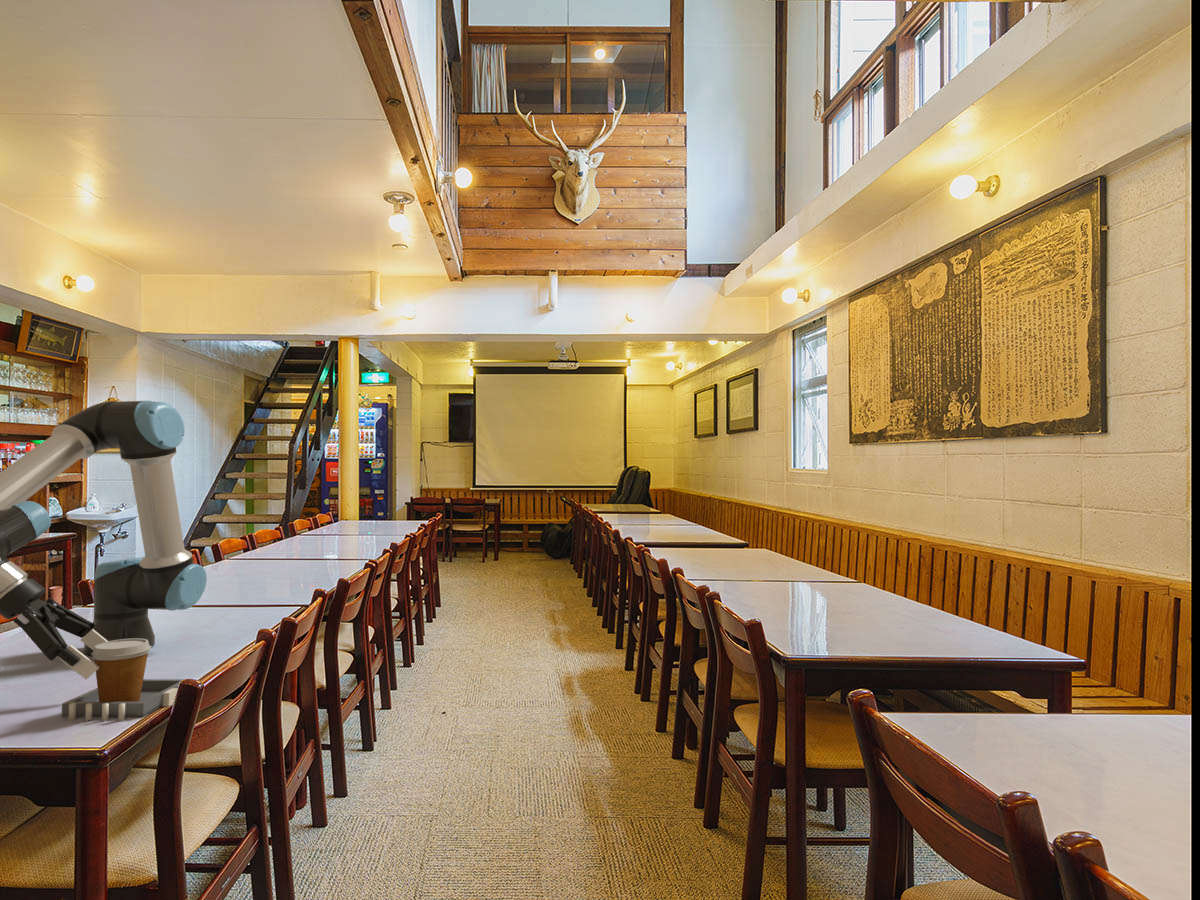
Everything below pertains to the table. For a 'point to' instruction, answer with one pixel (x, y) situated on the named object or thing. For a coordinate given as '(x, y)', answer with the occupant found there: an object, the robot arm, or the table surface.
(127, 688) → the disposable coffee cup
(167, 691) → the grey tray
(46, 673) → the table surface
